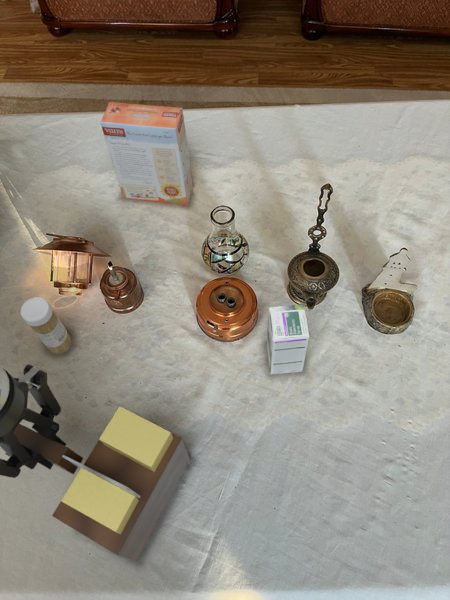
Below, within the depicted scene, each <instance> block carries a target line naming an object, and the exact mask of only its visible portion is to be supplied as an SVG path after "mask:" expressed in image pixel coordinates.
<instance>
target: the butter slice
mask: <svg viewBox="0 0 450 600" xmlns="http://www.w3.org/2000/svg"><path fill="white" fill-rule="evenodd" d="M65 492H66V493H65V494H64V495H63V496H62V499H61V500H60V502H61V501H62V502H63V503H65V504H67V505H69V506H70V507H72V508H74V509H76V510H78V511H79V512H81V513H83V514H85V515H86V516H88V517H90V518H92V519H94V520H95V521H97V522H99V523H101V524H102V525H104V526H106V527H108V528H110V529H111V530H113V531H115V532H117V533H119V534H121V533H122V531H123V530H124V528H125V526H126V524H127V522H128V520H129V518H130V517H131V515H132V513H133V511H134V509H135V507H136V505H137V503H138V502H139V500H138V499H137V498H136V497H135V496H134V495H132V494H130V493H128V492H126V491H124V490H123V489H121V488H119V487H117V486H115V485H113V484H111V483H109V482H108V481H106V480H104V479H102V478H100V477H98V476H96V475H95V474H93V473H91V472H89V471H87V470H85V469H83V468H79V471H78V472H77V473H76V476H75V477H74V479H73V480H72V482H71V484H70V486H69V487H68V489H67V490H66V491H65Z"/></svg>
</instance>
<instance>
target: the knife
mask: <svg viewBox="0 0 450 600" xmlns="http://www.w3.org/2000/svg"><path fill="white" fill-rule="evenodd" d="M13 433H14V434H15V435H16V437H17V438H18V441H19V442H20V444H22V445H23V446H25V447H27V448H29V449H30V450H32V451H34V452H36V453H37V454H39V455H40V456H42V457H43V458H45V459H46V460H48V461H49V462H50V463H52V464H53V466H56V467H58V468H60V469H61V470H64V471H66V472H67V473H69V474H71V475H74V474H75V473H76V471H77V470H78V468H79V469H81V468H83V469H85V470H87V471H89V472H91V473H93V474H95V475H96V476H98V477H100V478H102V479H104V480H106V481H108V482H109V483H111V484H113V485H115V486H117V487H119V488H121V489H123V490H124V491H126V492H128V493H130V494H132V495H134V496H136V497H138V498H140V497H141V496H140V495H138V494H137V493H135V492H134V491H133V490H131V489H130V488H128V487H126V486H124V485H123V484H121V483H119V482H117V481H115V480H113V479H111V478H109V477H107V476H105V475H103V474H101V473H99V472H97V471H95V470H93V469H91V468H89V467H87V466H85V465H84V464H82V462H83V460H84V457H82V456H81V455H80V454H78V453H77V452H76V451H74V450H73V449H71V448H69V447H68V446H67V445H66V446H64V445H62V444H60V443H58V442H56V441H54V440H51V439H49V438H47V437H45V436H44V435H42V434H40V433H38V432H37V431H35V430H34V429H32V428H30V427H27V426H25V425H23V424H21V423H19V424H18V425H17V427H16V429H15V431H14V432H13Z"/></svg>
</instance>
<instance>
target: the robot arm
mask: <svg viewBox="0 0 450 600" xmlns="http://www.w3.org/2000/svg"><path fill="white" fill-rule="evenodd" d="M22 371H23V376H21V377H20V378H18V377H14V376H12V375H11V373H9V372H8V371H7V369H5V368H4V367H3V366H2V365H1V364H0V448H1V449H2V450H3V451H4V452H5V453H4V455H6V456H7V457H9V458H8V459H3V458H0V476H2V477H8V478H11V479H12V478H13V479H16V478H17V477H19V475H20V474H21V471H22V470H21V468H22V467H23V466H24V467H26V468H28V469H29V470H34V469H35V468H36V466H37V465H38V464H39V465H41V466H43V467H45V468H47V469H48V470H52V468H53V466H54V464H52V463H50V462H49V461H48V460H46V459H45V458H43V457H42V456H40V455H39V454H37V453H36V452H34V451H32V450H30V449H29V448H27V447H25V446H23V445H22V444H20V442H19V441H18V438H17V437H16V435H15V434H14V433H13V432H14V431H15V429H16V427H17V425H18V424H21V422H22V421H26V422H28V423H31V424H32V426H31V429H32V430H33V431H36V432H38V433H40V434H42V435H44V436H45V437H47V438H49V439H51V440H54V441H56V442H58V443H60V444H62V445H64V446H66V447H67V445H68V444H67V443H66V442H65V441H64V440H63V439H61V438H60V437H59V436H58V435H57V434H58V433H59V431H60V424H59V423H58V422H56V421H54V419H55V417H57V416H59V415H60V414H61V411H62V407H61V405H60V403H59V402H58V400H57V398H56V397H55V395H54V393H53V391H52V389H51V388H50V386H49V384H48V373H47V372H46V371H45V370H42V369H40V368H38V367H36V366H34V365H32V364H30V363H28V364H26V365H25V366H24V368H23V370H22ZM29 393H30V394H31V396H32V397H33V400H35V402H36V404H37V405H38V407H39V408H40V409H41V411H40V412H38V411H35V410H33V409H31V408H30V407H28V400H29Z"/></svg>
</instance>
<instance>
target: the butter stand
mask: <svg viewBox="0 0 450 600" xmlns="http://www.w3.org/2000/svg"><path fill="white" fill-rule="evenodd" d="M171 434H172V436H173V440H172V442H171V444H170V446H169V447H168V449H167V451H166V453H165V455H164V456H163V458H162V460H161V462H160V464H159V465H158V467H157V469H156V471H155V472H153V471H151V470H150V469H148V468H146V467H144V466H142V465H140V464H138V463H137V462H135V461H133V460H131V459H129V458H127V457H126V456H124V455H122V454H120V453H118V452H116V451H114V450H113V449H111V448H109V447H107V446H105V445H104V444H103V443H102V442H101V441H100V440H99V439H98V441H97V443H96V444H95V446H94V447H93V449H92V450H91V452H90V454H89V455H88V456H87V459H86V460H85V461H84V464H83V465H85V466H87V467H89V468H91V469H93V470H95V471H97V472H99V473H101V474H103V475H105V476H107V477H109V478H111V479H113V480H115V481H117V482H119V483H121V484H123V485H124V486H126V487H128V488H130V489H131V490H133V491H134V492H135V493H137V494H138V495H140V496H141V497H140V498H138V497H136V496H135V497H136V498H137V499H138V500H139V502H138V503H137V505H136V507H135V509H134V511H133V513H132V515H131V517H130V518H129V520H128V522H127V524H126V526H125V528H124V530H123V531H122V533H121V534H119V533H117V532H115V531H113V530H111V529H110V528H108V527H106V526H104V525H102V524H101V523H99V522H97V521H95V520H94V519H92V518H90V517H88V516H86V515H85V514H83V513H81V512H79V511H78V510H76V509H74V508H72V507H70V506H69V505H67V504H65V503H63V502H62V501H61V500H60V502H59V503H58V505H57V507H56V508H55V510H54V511H53V513H52V515H51V517H53V518H55V519H56V520H58V521H60V522H61V523H63V524H65V525H66V526H68V527H70V528H71V529H73V530H75V531H77V532H78V533H80V534H81V535H83V536H84V537H86V538H87V539H90V540H91V541H93V542H94V543H97V544H98V545H100V546H101V547H103V548H105V549H106V550H108V551H110V552H111V553H113V554H114V555H116V556H118V557H121V558H124V559H128V560H130V561H133V562H139V559H140V558H141V556H142V555H143V552H144V550H145V548H146V546H147V544H148V543H149V541H150V539H151V537H152V536H153V533H154V531H155V529H156V528H157V526H158V524H159V522H160V520H161V519H162V516H163V514H164V512H165V510H166V509H167V507H168V505H169V503H170V501H171V500H172V497H173V496H174V494H175V492H176V490H177V488H178V486H179V484H180V482H181V480H182V479H183V476H184V475H185V473H186V471H187V469H188V467H189V465H190V464H191V461H192V460H191V458H190V455H189V453H188V451H187V447H186V445H185V443H184V440H183V438H182V437H180V436H179V435H176V434H174V433H172V432H171Z"/></svg>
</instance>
